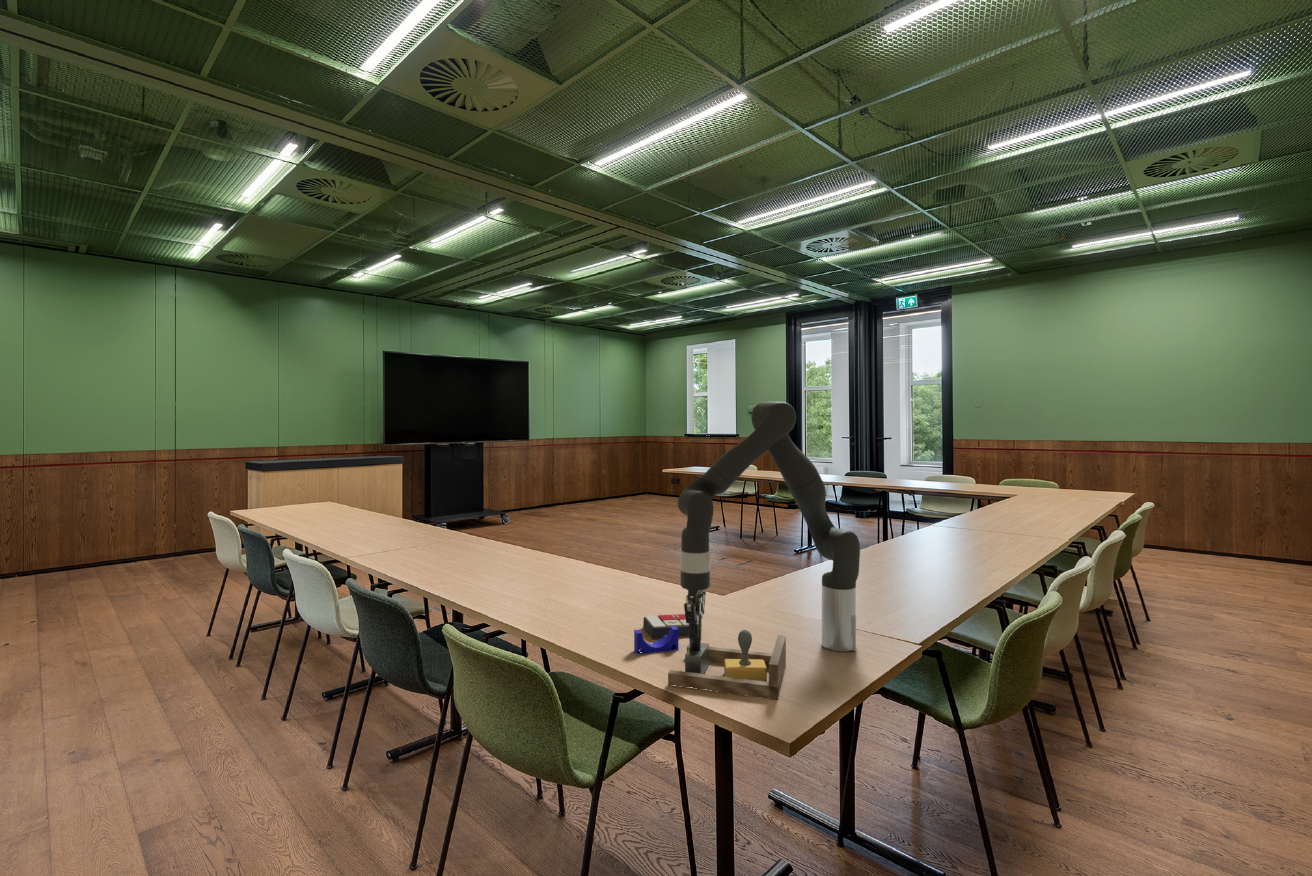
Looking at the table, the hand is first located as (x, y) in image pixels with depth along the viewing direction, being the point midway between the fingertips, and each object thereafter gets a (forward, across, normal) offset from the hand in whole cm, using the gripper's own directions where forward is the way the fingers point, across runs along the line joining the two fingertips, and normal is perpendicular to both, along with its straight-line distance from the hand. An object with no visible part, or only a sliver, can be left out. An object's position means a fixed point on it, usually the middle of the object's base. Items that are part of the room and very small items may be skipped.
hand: (695, 635), depth 152 cm
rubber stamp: (+9, 0, -13) cm, 16 cm away
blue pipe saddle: (+10, +12, +14) cm, 21 cm away
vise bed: (+9, 0, -10) cm, 13 cm away
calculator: (+10, +27, +14) cm, 32 cm away
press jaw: (+9, 0, 0) cm, 9 cm away
